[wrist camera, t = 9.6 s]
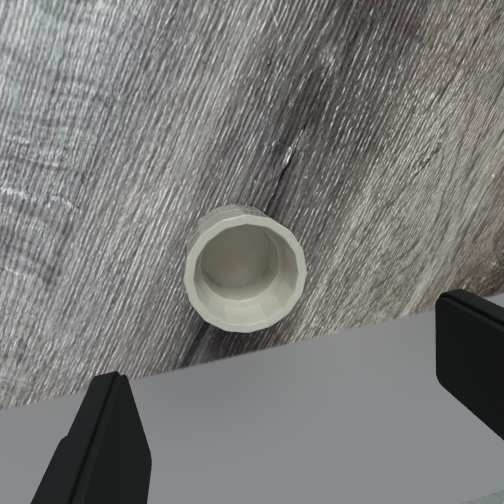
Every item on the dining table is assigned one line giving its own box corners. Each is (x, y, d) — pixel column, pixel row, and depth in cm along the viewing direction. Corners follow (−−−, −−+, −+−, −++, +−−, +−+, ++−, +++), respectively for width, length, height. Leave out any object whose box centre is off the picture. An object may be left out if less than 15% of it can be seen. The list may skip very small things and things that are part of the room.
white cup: (289, 212, 23) (318, 226, 18) (270, 300, 25) (292, 337, 20) (193, 195, 22) (194, 205, 17) (179, 290, 23) (176, 327, 18)
